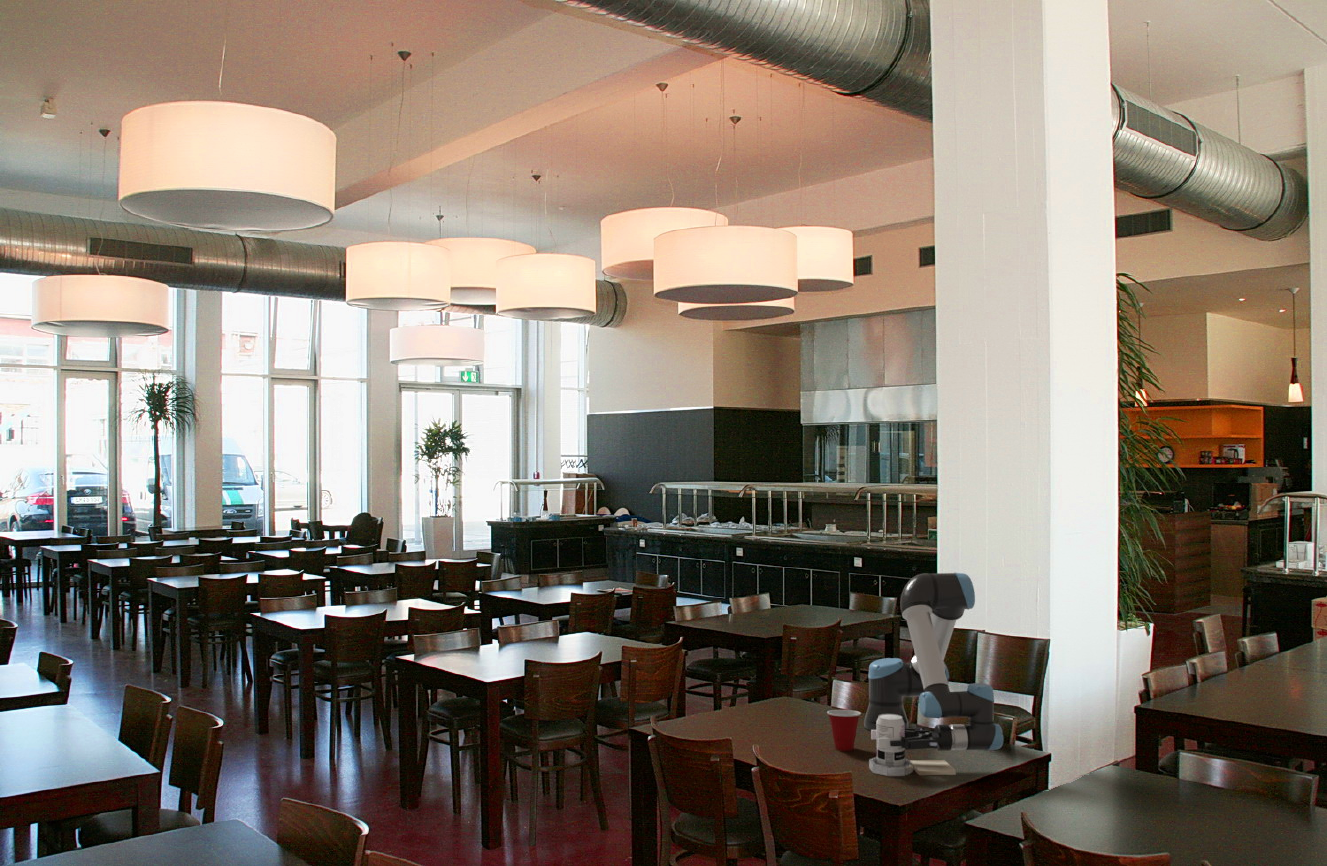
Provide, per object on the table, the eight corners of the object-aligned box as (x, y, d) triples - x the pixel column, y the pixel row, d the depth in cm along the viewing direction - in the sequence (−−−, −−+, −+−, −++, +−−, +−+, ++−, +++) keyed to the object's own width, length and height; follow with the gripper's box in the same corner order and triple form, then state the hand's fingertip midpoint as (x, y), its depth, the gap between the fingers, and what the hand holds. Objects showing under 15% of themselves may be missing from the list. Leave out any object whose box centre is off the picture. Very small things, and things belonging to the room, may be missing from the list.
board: (908, 764, 319) (908, 760, 319) (944, 763, 319) (944, 759, 319) (919, 775, 308) (919, 771, 308) (955, 774, 308) (955, 770, 308)
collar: (866, 764, 319) (866, 756, 319) (905, 763, 319) (905, 755, 319) (875, 776, 307) (875, 767, 307) (916, 775, 307) (916, 767, 307)
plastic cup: (859, 744, 341) (859, 707, 342) (862, 753, 331) (862, 715, 331) (826, 743, 342) (826, 706, 343) (828, 752, 332) (827, 714, 332)
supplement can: (873, 763, 317) (873, 713, 317) (899, 762, 317) (899, 713, 318) (881, 771, 309) (880, 720, 309) (908, 770, 309) (908, 719, 310)
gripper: (961, 760, 303) (883, 761, 302) (939, 740, 324) (866, 741, 323) (960, 734, 303) (883, 735, 303) (939, 716, 324) (866, 717, 324)
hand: (874, 738), depth 313 cm, fingers closed on supplement can, 8 cm apart
